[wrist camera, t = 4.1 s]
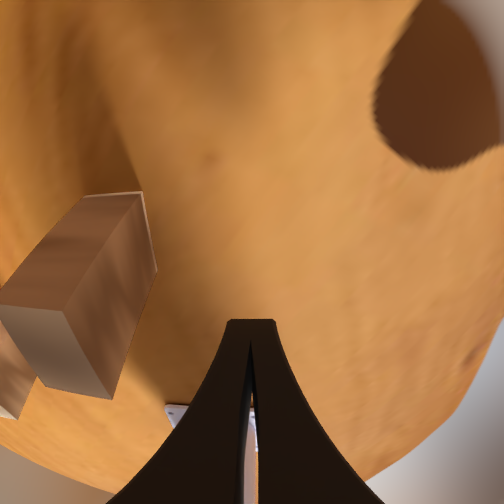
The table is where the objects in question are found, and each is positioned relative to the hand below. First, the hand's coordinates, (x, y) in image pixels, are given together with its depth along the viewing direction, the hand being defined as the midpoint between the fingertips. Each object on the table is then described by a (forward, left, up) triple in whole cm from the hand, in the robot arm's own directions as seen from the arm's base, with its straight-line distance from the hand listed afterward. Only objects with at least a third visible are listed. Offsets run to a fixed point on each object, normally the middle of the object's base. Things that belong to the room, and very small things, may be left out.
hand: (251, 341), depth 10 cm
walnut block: (0, +7, -7) cm, 9 cm away
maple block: (-9, +19, -7) cm, 22 cm away
